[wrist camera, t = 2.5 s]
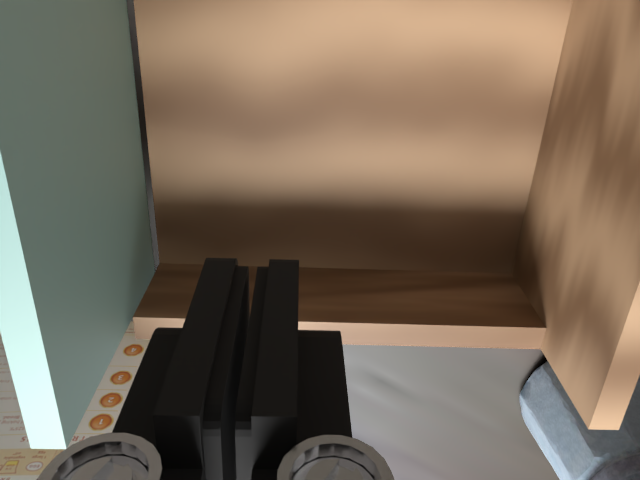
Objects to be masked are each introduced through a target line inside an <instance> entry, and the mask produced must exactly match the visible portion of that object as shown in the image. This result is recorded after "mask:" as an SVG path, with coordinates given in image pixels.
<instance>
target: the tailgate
mask: <svg viewBox="0 0 640 480" xmlns="http://www.w3.org/2000/svg"><path fill="white" fill-rule="evenodd" d="M154 274H155V268H154V259H153V249H152V239H151V230H150V220H149V211H148V201H147V192H146V182H145V172H144V163H143V153H142V144H141V134H140V125H139V115H138V105H137V96H136V86H135V77H134V67H133V58H132V48H131V38H130V29H129V19H128V10H127V0H0V333H1V337H2V341H3V344H4V348H5V352H6V356H7V360H8V364H9V367H10V371H11V375H12V379H13V383H14V386H15V390H16V394H17V398H18V402H19V406H20V409H21V413H22V417H23V421H24V425H25V429H26V432H27V436H28V440H29V444H30V448H31V449H67V448H68V446H69V444H70V442H71V440H72V438H73V436H74V434H75V432H76V430H77V428H78V426H79V424H80V422H81V420H82V418H83V416H84V414H85V412H86V410H87V408H88V406H89V404H90V402H91V400H92V398H93V396H94V394H95V392H96V390H97V388H98V386H99V384H100V382H101V380H102V378H103V376H104V374H105V372H106V370H107V368H108V366H109V364H110V362H111V360H112V358H113V356H114V354H115V352H116V350H117V348H118V346H119V344H120V342H121V340H122V338H123V336H124V334H125V332H126V330H127V328H128V326H129V324H130V322H131V320H132V318H133V315H134V313H135V311H136V309H137V307H138V305H139V303H140V301H141V299H142V297H143V295H144V294H145V292H146V290H147V288H148V286H149V284H150V282H151V280H152V278H153V276H154Z"/></svg>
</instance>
